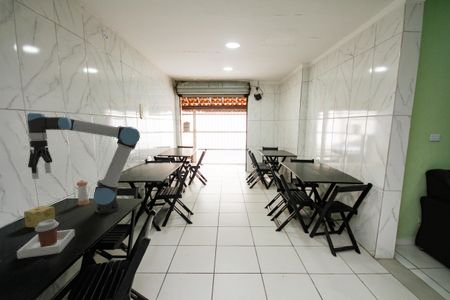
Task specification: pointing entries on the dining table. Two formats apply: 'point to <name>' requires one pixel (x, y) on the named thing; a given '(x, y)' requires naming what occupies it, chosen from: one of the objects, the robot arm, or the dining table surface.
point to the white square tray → (36, 250)
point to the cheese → (38, 215)
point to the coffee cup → (47, 232)
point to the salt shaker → (82, 193)
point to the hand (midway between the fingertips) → (42, 175)
